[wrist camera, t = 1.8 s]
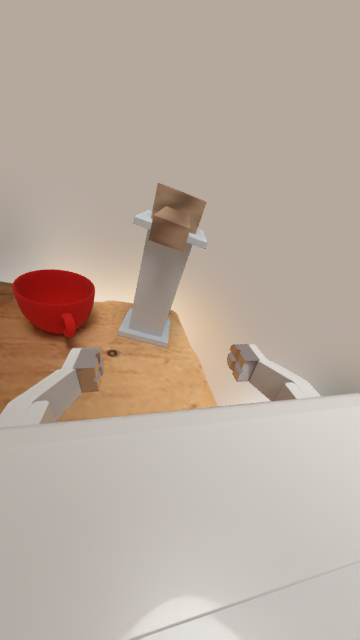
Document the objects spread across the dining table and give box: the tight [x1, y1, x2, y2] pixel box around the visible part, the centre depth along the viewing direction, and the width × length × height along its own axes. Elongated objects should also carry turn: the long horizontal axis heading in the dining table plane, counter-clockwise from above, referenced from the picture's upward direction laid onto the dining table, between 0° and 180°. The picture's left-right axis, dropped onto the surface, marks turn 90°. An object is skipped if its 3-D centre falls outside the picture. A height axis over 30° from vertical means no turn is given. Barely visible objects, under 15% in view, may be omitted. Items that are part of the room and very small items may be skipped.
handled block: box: [149, 183, 206, 252], centre depth 27 cm, size 8×22×5 cm, turn 178°
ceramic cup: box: [12, 270, 95, 337], centre depth 36 cm, size 13×17×10 cm
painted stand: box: [118, 210, 208, 347], centre depth 40 cm, size 12×12×26 cm
